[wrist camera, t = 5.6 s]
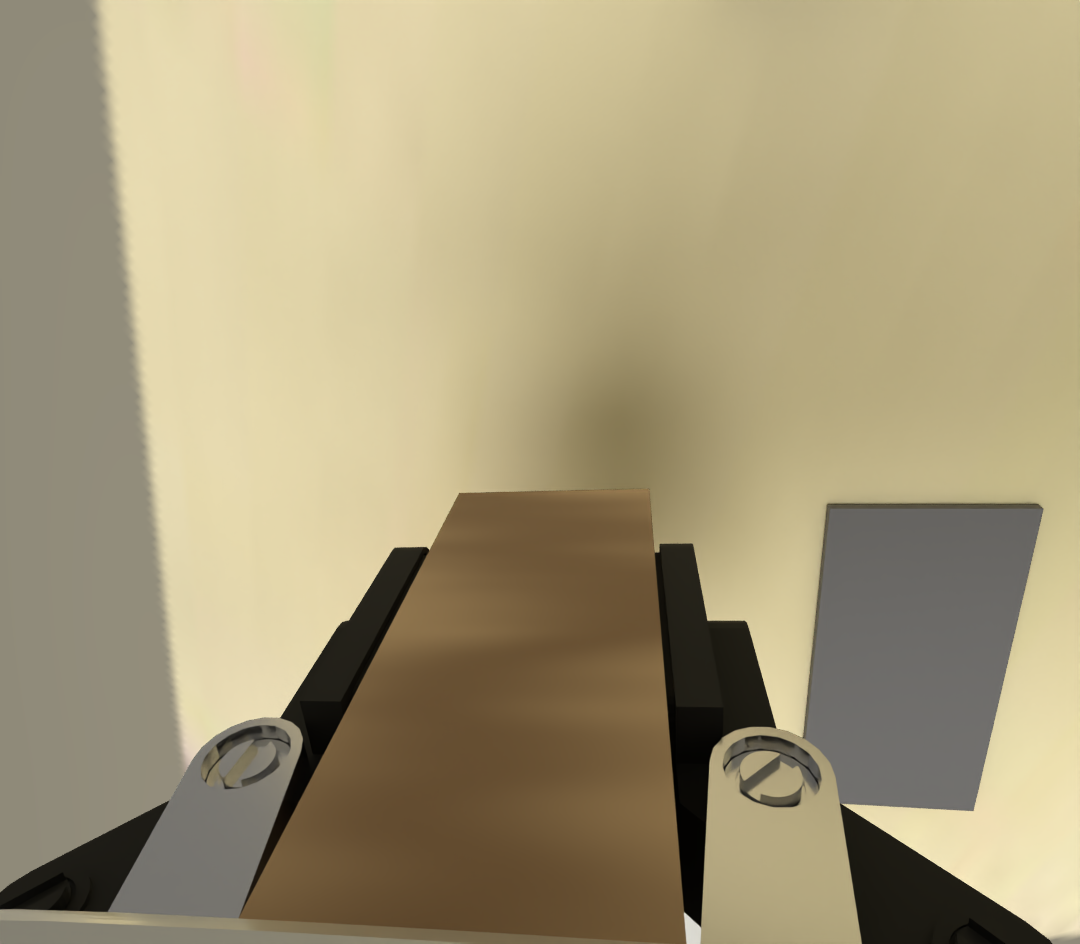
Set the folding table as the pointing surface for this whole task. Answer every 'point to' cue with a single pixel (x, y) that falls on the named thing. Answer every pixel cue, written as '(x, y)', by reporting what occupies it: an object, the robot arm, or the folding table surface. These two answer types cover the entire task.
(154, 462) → the folding table surface
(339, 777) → the block on white plate
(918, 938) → the robot arm
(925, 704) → the mat
